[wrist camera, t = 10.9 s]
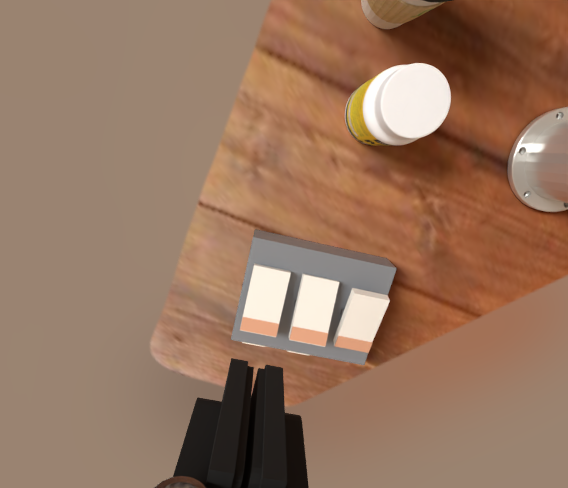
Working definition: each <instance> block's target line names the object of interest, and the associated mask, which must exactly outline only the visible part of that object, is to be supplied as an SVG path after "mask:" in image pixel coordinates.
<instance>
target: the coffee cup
mask: <svg viewBox="0 0 568 488" xmlns="http://www.w3.org/2000/svg"><path fill="white" fill-rule="evenodd" d="M447 1H452V0H361V3H362V9H363V12H364V14H365V16H366V18H367V19H368V20H369V22H371V23H372V24H373V25H374V26H376V27H378V28H382V29H392V28H396V27H398V26H400V25H402V24H404V23H406V22H409V21H411V20H413V19H415V18H417V17H419V16H421V15H423V14H424V13H426V12H428V11H430V10H432V9H434V8H436V7H437V6H439V5H441V4H443V3H445V2H447Z"/></svg>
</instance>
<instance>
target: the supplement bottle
mask: <svg viewBox="0 0 568 488" xmlns="http://www.w3.org/2000/svg"><path fill="white" fill-rule="evenodd" d="M450 103H451V92H450V87H449V84H448V82H447V80H446V78H445V76H444V75H443V74H442V73H441V72H440V71H439V70H438V69H437V68H435V67H433V66H431V65H428V64H424V63H414V64H409V65H398V66H394V67H391V68H389V69H387V70H385V71H383V72H381V73H380V74H378V75H377V76H376V77H374V78H372V79H371V80H369V81H368V82H366V83H365V84H363V85H361V86H360V87H359V88H358V89H356V90H355V91H354V92H353V94H352V95H351V96H350V98H349V100H348V102H347V105H346V109H345V122H346V126H347V128H348V130H349V132H350V134H351V135H352V136H353V137H354V138H355V139H356V140H357V141H359V142H361V143H363V144H366V145H372V146H381V145H382V146H399V145H405V144H409V143H411V142H413V141H416V140H417V139H419V138H422V137H424V136H427V135H429V134H431V133H432V132H434V131H435V130H436V129H437V128H438V127H439V126H440V125H441V124H442V122H443V121H444V119H445V118H446V116H447V114H448V111H449V108H450Z"/></svg>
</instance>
